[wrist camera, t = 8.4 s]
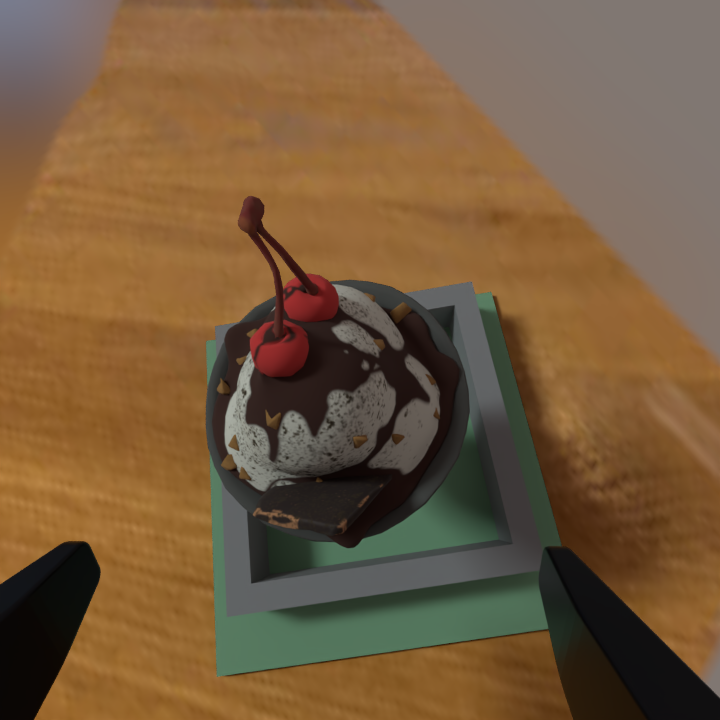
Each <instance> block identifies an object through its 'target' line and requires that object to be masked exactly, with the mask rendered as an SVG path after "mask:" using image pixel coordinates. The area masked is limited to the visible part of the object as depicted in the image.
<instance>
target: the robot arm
mask: <svg viewBox="0 0 720 720" xmlns="http://www.w3.org/2000/svg"><path fill="white" fill-rule="evenodd" d="M100 573H101V572H100V567H99V564H98V562H97V560H96V558H95V556H94V554H93V551H92V549H91V547H90V545H89V544H88V543H87V542H84V541H68V542H64V543H62V544H60V545H59V546H57V547H56V548H54V549H53V550H51V551H50V552H48V553H47V554H45V555H44V556H42V557H41V558H39V559H38V560H36V561H35V562H33V563H32V564H30V565H29V566H27V567H26V568H24V569H23V570H21V571H20V572H18V573H17V574H15V575H14V576H12V577H11V578H9V579H8V580H6V581H5V582H3V583H2V584H0V720H34V719H35V717H36V715H37V713H38V711H39V709H40V707H41V706H42V704H43V702H44V700H45V698H46V696H47V694H48V692H49V690H50V688H51V687H52V685H53V683H54V681H55V679H56V677H57V675H58V673H59V671H60V669H61V667H62V665H63V663H64V661H65V659H66V657H67V655H68V652H69V650H70V648H71V646H72V643H73V641H74V639H75V636H76V634H77V632H78V629H79V627H80V625H81V622H82V620H83V618H84V615H85V613H86V611H87V608H88V606H89V604H90V601H91V599H92V597H93V594H94V592H95V589H96V587H97V585H98V582H99V579H100ZM538 581H539V589H540V594H541V598H542V602H543V607H544V611H545V616H546V620H547V624H548V629H549V633H550V638H551V642H552V646H553V651H554V655H555V659H556V664H557V668H558V672H559V676H560V680H561V683H562V686H563V690H564V693H565V696H566V699H567V702H568V705H569V708H570V711H571V714H572V717H573V720H720V698H719V697H718V696H717V695H716V694H715V693H714V692H713V691H712V690H711V689H710V688H709V687H708V686H707V685H706V684H705V683H704V682H703V681H702V680H701V679H700V678H699V677H698V676H697V675H696V674H695V673H694V672H693V671H692V670H691V669H690V668H689V667H688V666H687V665H686V664H685V663H684V662H683V661H682V660H681V659H680V658H679V657H678V656H677V655H676V654H675V653H674V652H673V651H672V650H671V649H670V648H669V647H668V646H667V645H666V644H665V643H664V642H663V641H662V640H661V639H660V638H659V637H658V636H657V635H656V634H655V633H654V632H653V631H652V630H651V629H650V628H649V627H648V626H647V625H646V624H645V623H644V622H643V621H642V620H641V619H640V618H639V617H638V616H637V615H636V614H635V613H634V612H633V611H632V610H631V609H630V608H629V607H628V606H627V605H626V604H625V603H624V602H623V601H622V600H621V599H620V598H619V597H618V596H617V595H616V594H615V593H614V592H613V591H612V590H611V589H610V588H609V587H608V586H607V585H606V584H605V583H604V582H603V581H602V580H601V579H600V578H599V577H598V576H597V575H596V574H595V573H594V572H593V571H592V570H591V569H590V568H589V567H588V566H587V565H586V564H585V563H584V562H583V561H582V560H581V559H580V558H579V557H578V556H577V555H576V554H575V553H574V552H573V551H572V550H571V549H569V548H568V547H564V546H547V547H545V548H544V549H543V553H542V558H541V564H540V570H539V576H538Z"/></svg>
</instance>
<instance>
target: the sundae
mask: <svg viewBox="0 0 720 720" xmlns="http://www.w3.org/2000/svg"><path fill="white" fill-rule="evenodd" d="M263 215H264V205H263V203H262V202H261V200H260V199H259V198H256V197H253V196H248V197H247V198H246V199H245V200H244V202H243V207H242V210H241V213H240V216H239V220H238V226H239V227H240V229H241V230H243V231H244V232H246V233H248V235H249V236H250V237H251V239H252V240H253V241H254V243H255V244H256V245H257V246H258V248H259V249H260V251H261V252H262V254H263V255H264V257H265V258H266V260H267V261H268V263H269V265H270V267H271V270H272V272H273V276H274V283H275V289H276V296H275V297H273V298H271V299H269V300H267V301H265V302H264V303H262V304H260V305H258V306H256V307H255V308H254V309H253V310H252V311H251V312H249V313H248V314H247V315H246V316H245V317H244V318H243V319H242V320H241V321H240V322H239V323H238V324H236V325H234V326H232V327H231V328H229V329H228V331H227V333H226V335H225V338H224V342H223V344H222V346H221V349H220V351H219V354H218V356H217V358H216V361H215V363H214V366H213V369H212V373H211V376H210V380H209V384H208V389H207V400H206V433H207V442H208V449H209V452H210V455H211V458H212V461H213V464H214V467H215V469H216V471H217V473H218V475H219V477H220V479H221V481H222V483H223V485H224V487H225V489H226V490H227V491H228V492H229V493H230V494H231V495H232V496H233V497H234V498H235V499H236V500H237V501H238V503H239V504H240V505H241V506H242V507H243V508H244V509H246V510H247V511H248V512H250V513H251V514H252V515H253V516H255V517H256V518H257V519H258V520H260V521H261V522H262V523H264V524H265V525H268V526H270V527H272V528H275V529H277V530H280V531H282V532H284V533H287V534H289V535H292V536H296V537H299V538H303V539H307V540H310V541H315V542H336V543H337V544H339V545H340V546H343V547H345V548H354V547H356V546H357V545H358V544H359V543H360V542H361V540H362V539H364V538H368V537H371V536H374V535H377V534H381V533H383V532H385V531H387V530H388V529H390V528H392V527H394V526H395V525H397V524H399V523H400V522H402V521H404V520H405V519H406V518H408V517H409V516H410V515H412V514H413V513H414V512H416V511H417V510H418V509H420V508H421V507H422V506H424V505H425V504H426V503H427V502H428V501H429V499H430V498H431V497H432V496H433V494H434V493H435V492H436V491H437V489H438V488H439V487H440V486H441V485H442V483H443V482H444V481H445V479H446V477H447V476H448V474H449V472H450V471H451V469H452V468H453V466H454V464H455V463H456V461H457V459H458V458H459V455H460V451H461V448H462V445H463V442H464V438H465V435H466V431H467V425H468V419H469V414H470V404H469V390H468V385H467V380H466V375H465V371H464V368H463V365H462V362H461V359H460V357H459V354H458V351H457V349H456V347H455V346H454V344H453V342H452V341H451V339H450V337H449V336H448V334H447V332H446V331H445V330H444V328H443V327H442V326H441V325H440V323H439V322H438V321H437V319H436V318H435V317H434V316H433V314H432V313H431V312H430V311H428V310H427V309H426V308H425V307H423V306H422V305H421V304H419V303H418V302H417V301H415V300H414V299H413V298H411V297H409V296H408V295H406V294H404V293H402V292H400V291H398V290H396V289H395V288H393V287H390V286H386V285H382V284H377V283H373V282H368V281H357V280H343V281H332V282H329V281H328V280H326V279H325V278H323V277H322V276H320V275H314V274H305V272H304V271H303V270H302V269H301V268H300V267H299V266H298V264H297V263H296V262H295V261H294V260H293V259H292V257H291V256H290V255H289V254H288V253H287V251H286V250H285V249H284V248H283V247H282V246H281V245H280V244H279V243H278V242H277V241H276V240H275V239H274V238H273V237H272V236H271V235H270V234H269V233H268V232H267V231H266V230H265V229H264V227H263V224H262V221H261V219H262V217H263ZM257 232H258V233H259V234H260V235H261V236H262V237H263V238H264V239H265V240H266V241H267V242H268V243H269V244H270V245H271V246H272V247H273V248H274V249H275V250H276V251H277V252H278V253H279V255H280V256H281V257H282V259H283V260H284V261H285V263H286V264H287V266H288V267H289V268H290V270H291V271H292V272H293V273H294V275H295V276H296V277H295V278H294V279H292V280H291V281H289V282H288V283H287V284H286V286H285V287H284V289H283V286H282V281H281V276H280V272H279V270H278V267H277V265H276V263H275V261H274V259H273V258H272V256H271V254H270V252H269V250H268V249H267V247H266V246H265V244H264V243H263V241H262V240H261V238H260V236H259V235H258V233H257Z"/></svg>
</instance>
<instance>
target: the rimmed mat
mask: <svg viewBox="0 0 720 720" xmlns="http://www.w3.org/2000/svg"><path fill="white" fill-rule="evenodd" d="M404 294H406V295H408V296H409V297H411V298H413V299H414V300H415V301H417V302H418V303H419V304H421V305H422V306H423V307H425V308H426V309H427V310H428V311H430V312H431V313H432V314H433V316H434V317H435V318H436V319H437V321H438V322H439V323H440V325H441V326H442V327H443V328H444V330H445V331H446V332H447V334H448V336H449V337H450V339H451V341H452V342H453V344H454V346H455V347H456V349H457V351H458V354H459V357H460V359H461V362H462V365H463V368H464V371H465V375H466V380H467V385H468V390H469V404H470V414H469V419H468V425H467V431H466V435H465V438H464V442H463V445H462V448H461V451H460V455H459V458H458V459H457V461H456V463H455V464H454V466H453V468H452V469H451V471H450V472H449V474H448V476H447V477H446V479H445V481H444V482H443V483H442V485H441V486H440V487H439V488H438V489H437V491H436V492H435V493H434V494H433V496H432V497H431V498H430V499H429V501H428V502H427V503H426V504H425V505H424V506H422V507H421V508H420V509H418V510H417V511H416V512H414V513H413V514H412V515H410V516H409V517H408V518H406V519H405V520H404V521H402V522H400V523H399V524H397V525H395V526H394V527H392V528H390V529H388V530H387V531H385V532H383V533H381V534H377V535H374V536H371V537H368V538H364V539H362V540H361V542H360V543H359V544H358V545H357V546H356V547H354V548H345V547H343V546H340V545H339V544H337V543H336V542H315V541H310V540H307V539H303V538H299V537H296V536H292V535H289V534H287V533H284V532H282V531H280V530H277V529H275V528H272V527H270V526H268V525H265V524H264V523H262V522H261V521H260V520H258V519H257V518H256V517H255V516H253V515H252V514H251V513H250V512H248V511H247V510H246V509H244V508H243V507H242V506H241V505H240V504H239V503H238V501H237V500H236V499H235V498H234V497H233V496H232V495H231V494H230V493H229V492H228V491H227V490H226V489H225V487H224V485H223V483H222V481H221V479H220V477H219V475H218V473H217V471H216V469H215V467H214V464H213V461H212V458H211V455H210V477H211V508H212V539H213V571H214V602H215V633H216V665H217V677H218V676H225V675H232V674H239V673H246V672H253V671H259V670H266V669H273V668H280V667H287V666H294V665H301V664H308V663H315V662H322V661H329V660H336V659H343V658H350V657H357V656H364V655H371V654H377V653H384V652H391V651H398V650H405V649H412V648H419V647H426V646H433V645H440V644H447V643H454V642H461V641H468V640H475V639H482V638H488V637H495V636H502V635H509V634H516V633H523V632H530V631H537V630H544V629H548V624H547V620H546V616H545V611H544V607H543V602H542V598H541V594H540V589H539V581H538V576H539V570H540V564H541V558H542V553H543V549H544V548H545V547H547V546H562V545H561V541H560V538H559V534H558V530H557V527H556V523H555V520H554V516H553V512H552V509H551V505H550V502H549V498H548V494H547V491H546V487H545V484H544V480H543V476H542V473H541V469H540V466H539V462H538V458H537V455H536V451H535V448H534V444H533V440H532V437H531V433H530V430H529V426H528V422H527V419H526V415H525V412H524V408H523V404H522V401H521V397H520V394H519V390H518V386H517V383H516V379H515V376H514V372H513V368H512V365H511V361H510V358H509V354H508V350H507V347H506V343H505V340H504V336H503V332H502V329H501V325H500V322H499V318H498V314H497V311H496V307H495V304H494V300H493V297H492V293H491V292H488V293H482V294H476V295H475V292H474V288H473V284H472V282H467V283H461V284H455V285H449V286H444V287H438V288H432V289H427V290H421V291H415V292H409V293H404ZM238 323H239V322H237V323H232V324H226V325H220V326H215V335H216V340H211V341H206V352H207V383H208V384H209V380H210V376H211V373H212V369H213V366H214V363H215V361H216V358H217V356H218V354H219V351H220V349H221V346H222V344H223V342H224V338H225V335H226V333H227V331H228V329H229V328H231V327H232V326H234V325H236V324H238Z"/></svg>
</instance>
